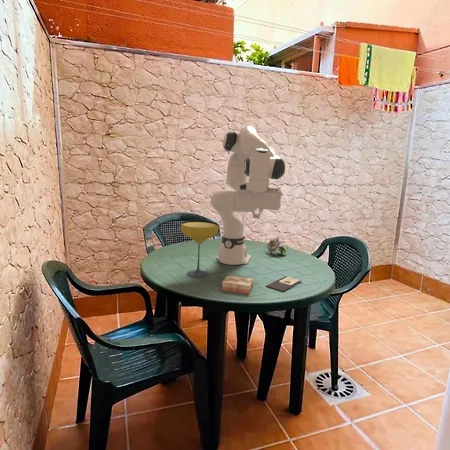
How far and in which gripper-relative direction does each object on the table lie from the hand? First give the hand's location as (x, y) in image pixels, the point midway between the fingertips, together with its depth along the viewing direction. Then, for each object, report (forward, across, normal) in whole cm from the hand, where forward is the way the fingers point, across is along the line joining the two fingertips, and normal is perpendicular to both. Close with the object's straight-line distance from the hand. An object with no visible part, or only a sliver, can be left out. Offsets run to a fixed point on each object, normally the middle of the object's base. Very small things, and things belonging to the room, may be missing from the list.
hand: (256, 218), depth 151 cm
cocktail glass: (+31, +28, 0) cm, 42 cm away
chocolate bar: (+32, -13, -9) cm, 35 cm away
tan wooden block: (+30, -2, +6) cm, 30 cm away
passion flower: (+31, +5, -58) cm, 66 cm away
